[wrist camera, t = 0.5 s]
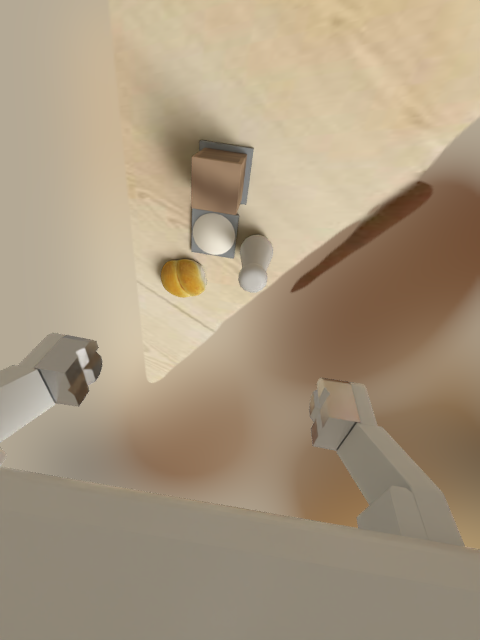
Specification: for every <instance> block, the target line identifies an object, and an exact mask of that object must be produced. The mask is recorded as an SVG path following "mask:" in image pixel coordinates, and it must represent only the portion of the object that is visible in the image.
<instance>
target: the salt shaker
mask: <svg viewBox="0 0 480 640" xmlns="http://www.w3.org/2000/svg"><path fill="white" fill-rule="evenodd" d="M272 255H273V248H272V244H271V242H270V241H269V240H268V239H267V238H266V237H264V236H261V235H252V236H250V237H248V238H246V239H245V240H244V242H243V243H242V245H241V249H240V256H241V262H242V269H241V271H240V273H239V278H238V280H239V283H240V286H241V287H242V288H243V289H244V290H245V291H248V292H258V291H260V290H262V289H263V288H264V287H265V285H266V282H267V273H266V270H267V268H268V265H269V263H270V261H271V259H272Z"/></svg>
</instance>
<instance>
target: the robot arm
mask: <svg viewBox="0 0 480 640" xmlns="http://www.w3.org/2000/svg"><path fill="white" fill-rule="evenodd" d="M98 348H99V347H98V345H97V342H96V341H94V340H90V339H85V338H79V337H74V336H69V335H63V334H57V333H51V334H49V335H47V336H46V337H45V338H44V339H43V340H42V341H41V342H40V343H39V344H38V346H36V348H35V349H33V350H32V352H31V353H30V354H29V355H28V356H27V357H26V358H25V359H24V360H23V361H22V362H21V363H20V364H19V365H18V366H15V365H12V366H10V367H8V368H6V369H3V370H1V371H0V442H2V441H3V440H4V439H6V438H7V437H9V436H10V435H12V434H13V433H15V432H16V431H18V430H19V429H20V428H22V427H23V426H25V425H26V424H27V423H29V422H31V421H32V420H33V419H35V418H36V417H38V416H39V415H40V414H42V413H44V412H45V411H46V410H48V409H49V408H51V407H52V406H54V405H55V403H57V404H64V405H72V406H80V404H81V403H82V401H83V400H84V398H85V397H86V395H87V394H88V392H89V387H88V385H90V384H91V383H93V382H95V381H96V380H97V378H98V376H99V375H100V372H101V369H102V359H101V356H100V355H99V354H98V353H97V352H96V350H97V349H98ZM309 408H310V409H309V412H310V418H311V419H312V420H313V422H314V423H313V425H312V427H311V434H312V444H313V446H315V447H320V448H325V449H331V450H335V451H337V454H338V455H339V457H340V458H341V460H342V462H343V463H344V465H345V467H346V468H347V470H348V471H349V473H350V475H351V476H352V478H353V479H354V481H355V483H356V484H357V486H358V487H359V489H360V491H361V492H362V494H363V495H364V497H365V499H366V500H367V502H368V503H369V505H370V506H368V507H367V508H366V509H365V510H364V511H363V512H362V513H361V514H359V516H358V517H357V523H358V528H353V527H347V526H342V525H336V524H330V523H325V522H319V521H313V520H307V519H301V518H295V517H290V516H284V515H278V514H272V513H267V512H261V511H255V510H249V509H243V508H238V507H232V506H225V505H220V504H214V503H209V502H203V501H197V500H191V499H186V498H180V497H174V496H168V495H162V494H157V493H151V492H145V491H139V490H133V489H128V488H121V487H116V486H110V485H104V484H99V483H93V482H87V481H81V480H75V479H70V478H63V477H58V476H52V475H46V474H41V473H34V472H28V471H22V470H17V469H12V468H6V467H0V640H480V549H475V548H469V547H465V545H464V543H463V541H462V538H461V536H460V533H459V531H458V528H457V526H456V523H455V521H454V518H453V516H452V514H451V511H450V509H449V506H448V504H447V501H446V499H445V496H444V494H443V493H442V491H441V490H440V489H439V488H438V487H437V486H436V485H435V484H434V483H433V482H432V481H431V479H430V478H429V477H428V476H427V475H426V474H425V473H424V472H423V471H422V470H421V469H420V468H419V467H418V466H417V464H416V463H415V462H414V461H413V460H412V459H411V458H410V457H409V456H408V455H407V454H406V452H405V451H404V450H403V449H402V448H401V447H400V446H399V445H398V444H397V443H396V442H395V441H394V439H393V438H392V437H391V436H390V435H389V434H388V433H387V432H386V431H385V430H384V429H383V428H382V427H379V426H377V422H376V419H375V416H374V412H373V409H372V406H371V403H370V399H369V396H368V393H367V389H366V387H365V385H363V384H358V383H352V382H347V381H340V380H334V379H327V378H320V379H319V380H318V383H317V390H315V391H314V392H313V394H312V396H311V399H310V406H309ZM5 459H6V453H5V452H4V451H3V450H2V449H1V447H0V465H1V464H2V463H3V461H4V460H5Z"/></svg>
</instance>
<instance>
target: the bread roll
mask: <svg viewBox="0 0 480 640" xmlns="http://www.w3.org/2000/svg"><path fill="white" fill-rule="evenodd" d="M161 281H162V284H163V286H164V288H165V289H166V290H167V291H168V292H169V293H171V294H173V295H175V296H178V297H190V296H196V295H199V294H201V293H202V292H203V291H204V290H205V288H206V285H207V279H206V274H205V271H204V269H203V267H202V266H201V265H200V264H198V263H197V262H195V261H193V260H189V259H181V260H172V261H168V262H167V263H166V264H165V265H164V266H163V268H162V271H161Z"/></svg>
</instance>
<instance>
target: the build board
mask: <svg viewBox="0 0 480 640" xmlns="http://www.w3.org/2000/svg"><path fill="white" fill-rule="evenodd" d="M238 219H239V215H238V214H236V215H232V214H225V213H219V212H213V211H207V210H201V209H194V208H192V252H196V253H203V254H209V255H215V256H221V257H227V258H233V259H234V253H235V245H236V236H237V228H238Z"/></svg>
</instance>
